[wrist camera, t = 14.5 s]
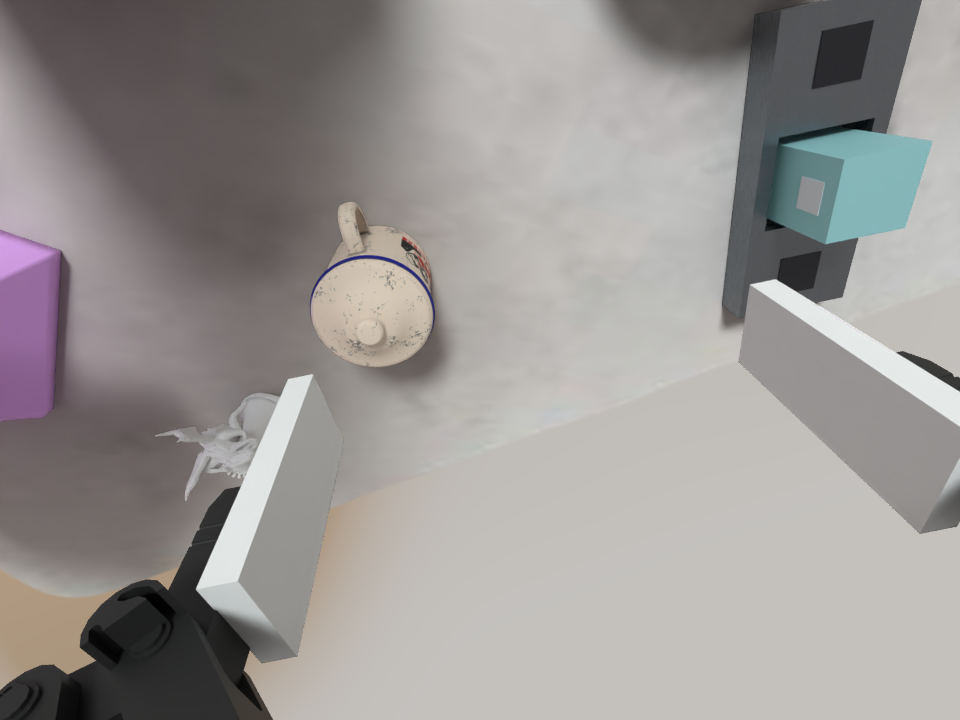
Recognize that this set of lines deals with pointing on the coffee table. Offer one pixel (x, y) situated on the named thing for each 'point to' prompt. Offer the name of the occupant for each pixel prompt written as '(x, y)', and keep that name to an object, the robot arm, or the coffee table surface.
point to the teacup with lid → (373, 294)
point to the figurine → (230, 439)
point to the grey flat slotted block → (808, 128)
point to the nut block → (845, 182)
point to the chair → (27, 326)
